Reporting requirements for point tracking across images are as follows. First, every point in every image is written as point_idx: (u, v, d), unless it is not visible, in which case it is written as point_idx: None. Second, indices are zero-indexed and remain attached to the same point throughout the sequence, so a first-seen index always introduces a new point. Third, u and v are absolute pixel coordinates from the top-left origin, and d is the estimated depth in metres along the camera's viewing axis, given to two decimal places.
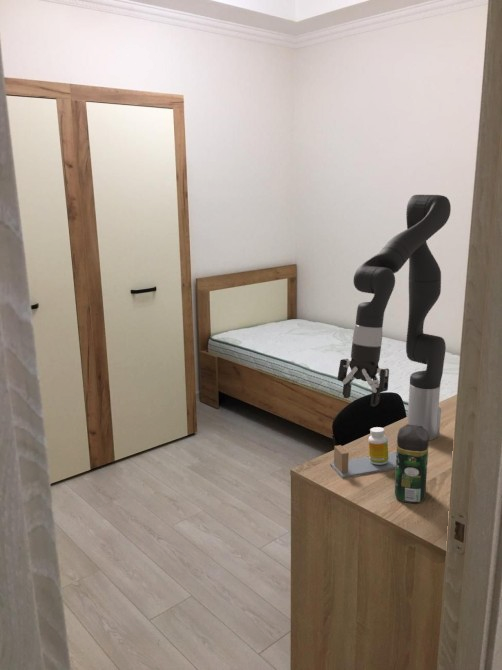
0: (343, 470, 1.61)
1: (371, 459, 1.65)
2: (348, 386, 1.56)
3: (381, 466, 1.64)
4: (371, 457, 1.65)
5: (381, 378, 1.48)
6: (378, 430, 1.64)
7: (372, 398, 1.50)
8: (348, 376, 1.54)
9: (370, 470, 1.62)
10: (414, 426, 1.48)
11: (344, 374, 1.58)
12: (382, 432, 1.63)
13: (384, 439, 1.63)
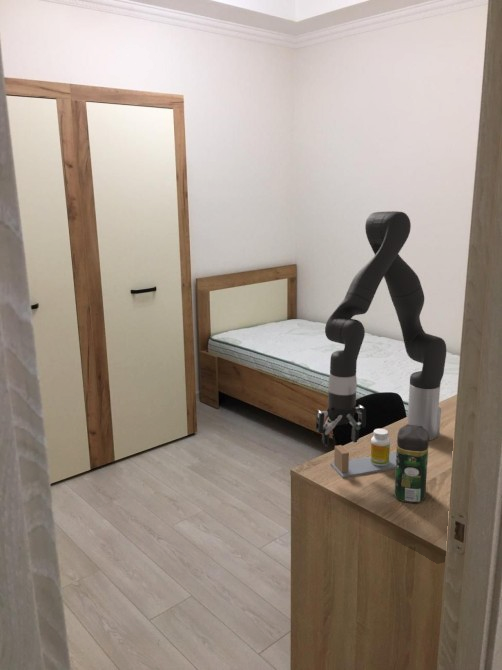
0: (343, 470, 1.61)
1: (372, 460, 1.65)
2: None
3: (381, 466, 1.64)
4: (372, 458, 1.65)
5: (363, 415, 1.60)
6: (382, 432, 1.63)
7: (356, 435, 1.61)
8: (332, 426, 1.57)
9: (370, 470, 1.62)
10: (414, 426, 1.48)
11: (318, 425, 1.59)
12: (385, 435, 1.63)
13: (387, 442, 1.63)
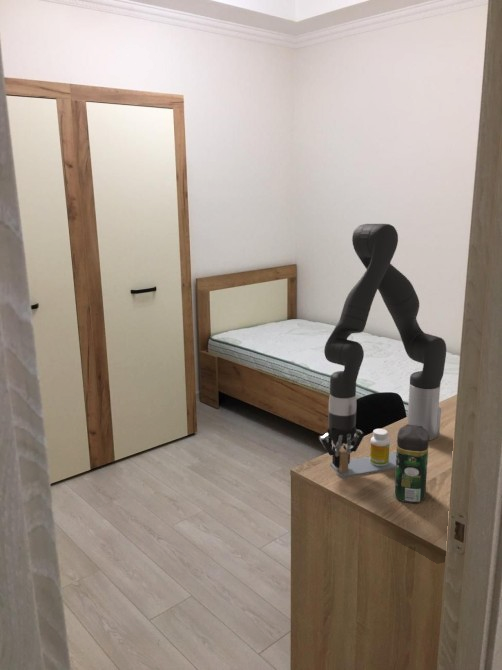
0: (343, 470, 1.61)
1: (371, 460, 1.65)
2: None
3: (381, 466, 1.64)
4: (372, 458, 1.65)
5: (359, 440, 1.61)
6: (381, 432, 1.63)
7: None
8: (338, 447, 1.59)
9: (370, 470, 1.62)
10: (414, 426, 1.48)
11: None
12: (385, 435, 1.63)
13: (386, 442, 1.63)
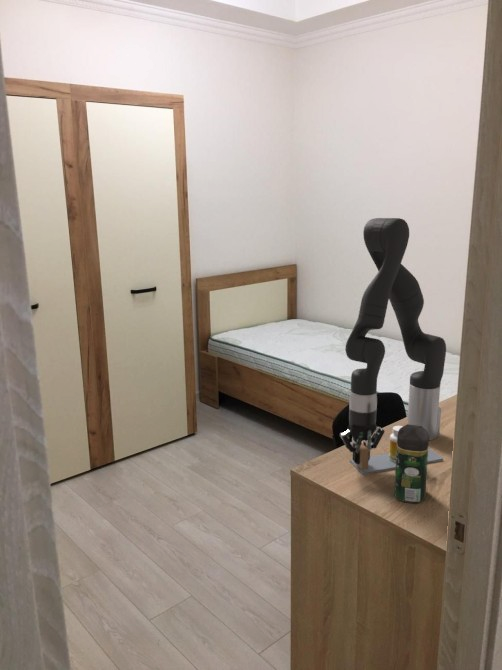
0: (363, 467, 1.63)
1: (391, 457, 1.67)
2: None
3: None
4: (391, 455, 1.67)
5: (379, 437, 1.63)
6: None
7: None
8: (359, 444, 1.61)
9: (390, 467, 1.64)
10: (414, 426, 1.48)
11: None
12: None
13: None
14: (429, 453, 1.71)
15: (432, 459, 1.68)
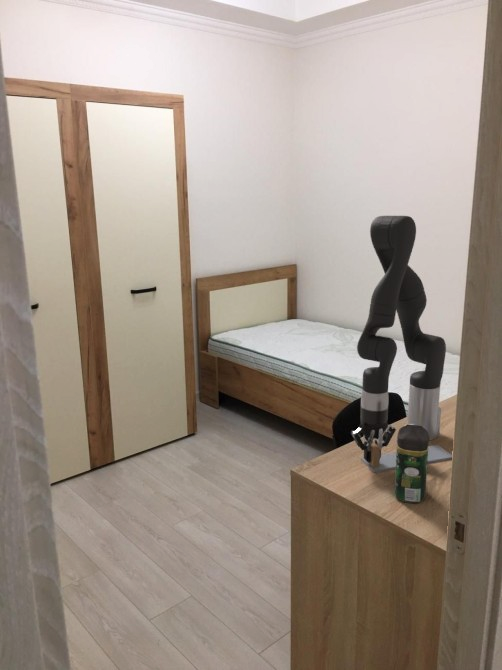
0: (375, 465, 1.64)
1: None
2: None
3: None
4: None
5: (390, 435, 1.64)
6: None
7: None
8: (370, 442, 1.62)
9: None
10: (414, 426, 1.48)
11: None
12: None
13: None
14: (439, 451, 1.72)
15: (443, 457, 1.69)
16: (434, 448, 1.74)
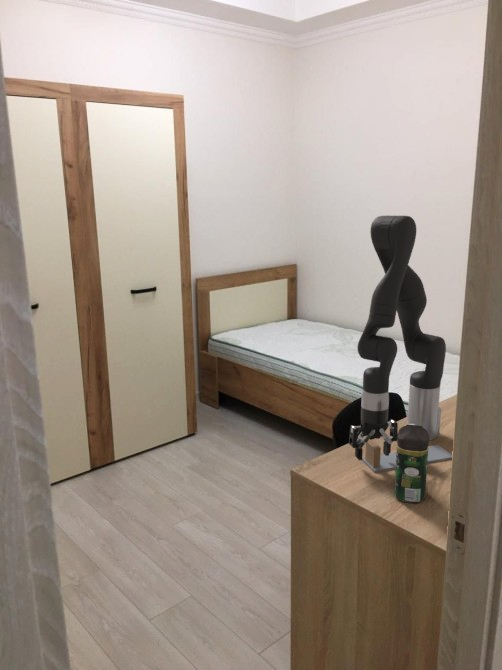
0: (375, 464, 1.64)
1: None
2: None
3: None
4: None
5: (395, 430, 1.64)
6: None
7: (388, 449, 1.65)
8: (365, 440, 1.61)
9: None
10: (414, 426, 1.48)
11: (352, 440, 1.63)
12: None
13: None
14: (440, 451, 1.72)
15: (443, 457, 1.69)
16: (434, 448, 1.74)
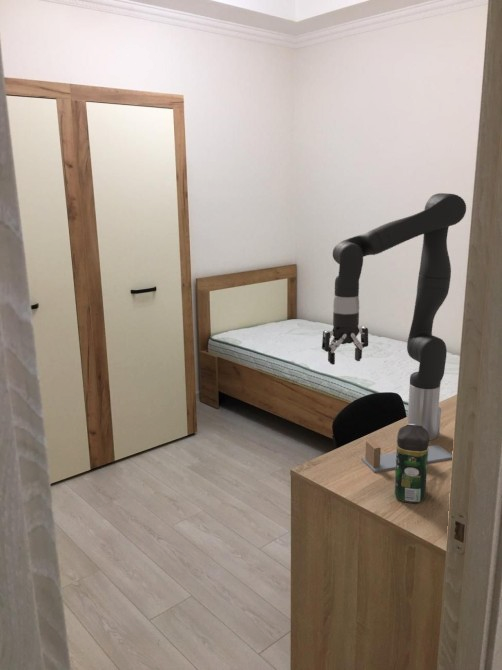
0: (375, 464, 1.64)
1: None
2: None
3: None
4: None
5: (366, 335, 1.73)
6: None
7: (359, 354, 1.74)
8: (337, 344, 1.70)
9: None
10: (414, 426, 1.48)
11: (325, 344, 1.72)
12: None
13: None
14: (440, 451, 1.72)
15: (443, 457, 1.69)
16: (434, 448, 1.74)
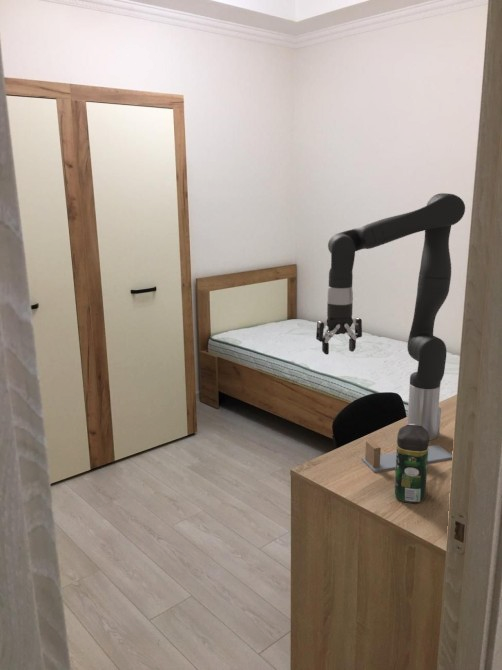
0: (375, 464, 1.64)
1: None
2: None
3: None
4: None
5: (359, 326, 1.76)
6: None
7: (353, 345, 1.77)
8: (331, 334, 1.74)
9: None
10: (414, 426, 1.48)
11: (319, 335, 1.75)
12: None
13: None
14: (440, 451, 1.72)
15: (443, 457, 1.69)
16: (434, 448, 1.74)
